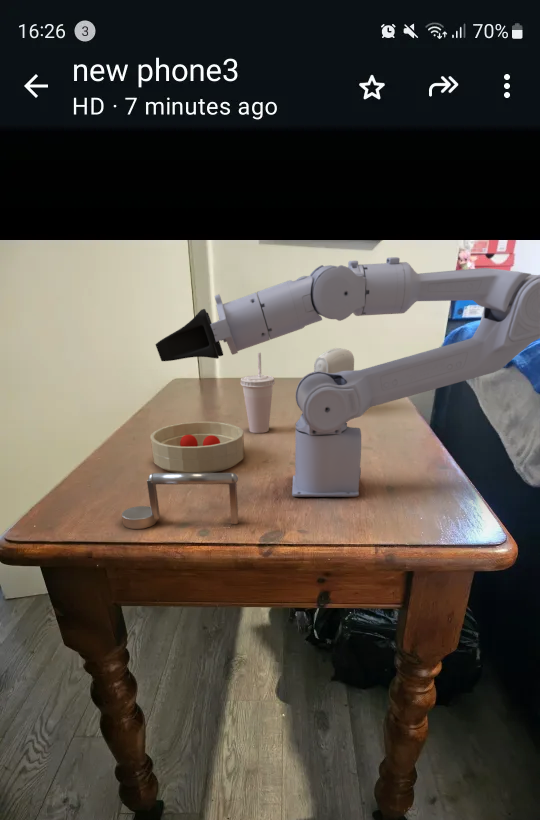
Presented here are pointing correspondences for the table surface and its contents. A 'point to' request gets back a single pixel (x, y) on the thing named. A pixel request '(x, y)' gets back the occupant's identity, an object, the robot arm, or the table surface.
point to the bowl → (199, 457)
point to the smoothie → (258, 399)
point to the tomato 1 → (188, 441)
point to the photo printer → (335, 361)
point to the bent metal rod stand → (150, 515)
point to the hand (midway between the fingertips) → (162, 352)
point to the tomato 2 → (211, 440)
